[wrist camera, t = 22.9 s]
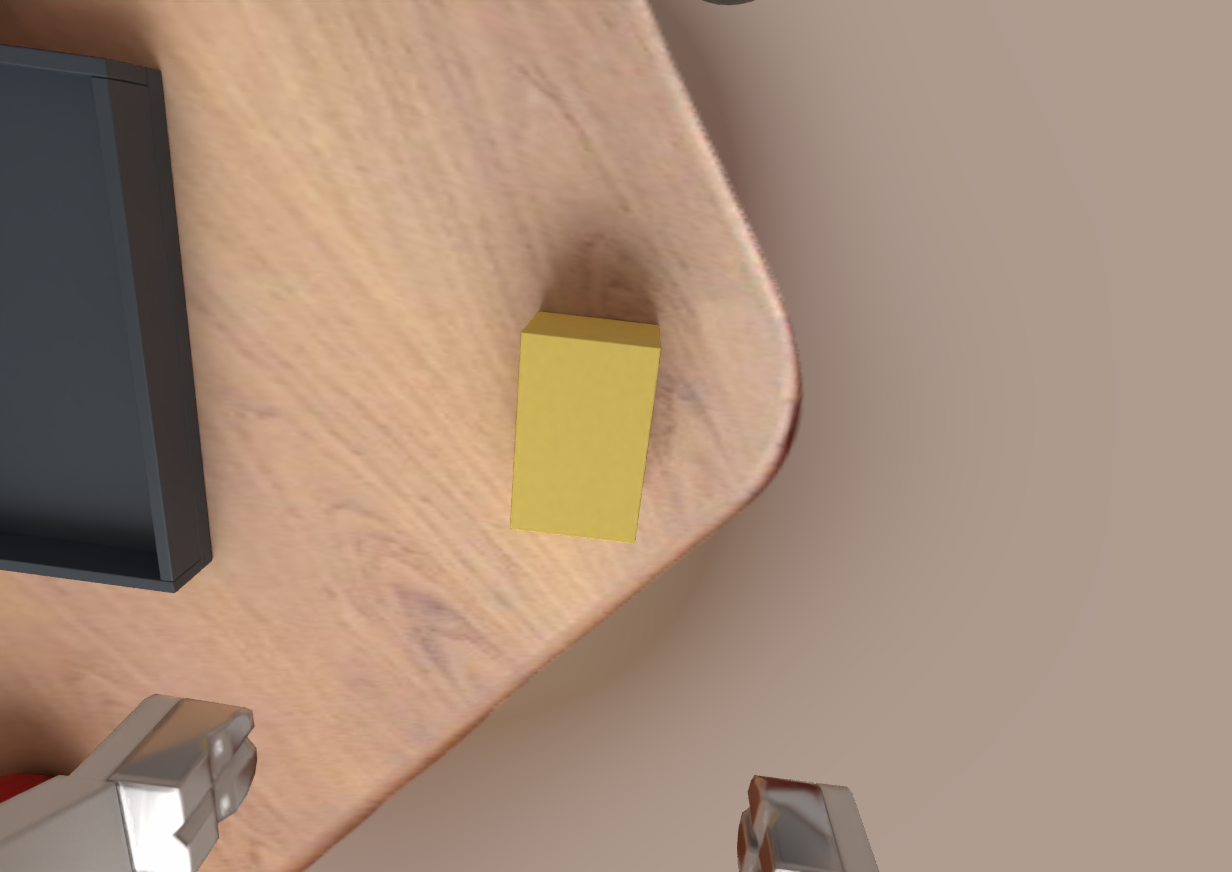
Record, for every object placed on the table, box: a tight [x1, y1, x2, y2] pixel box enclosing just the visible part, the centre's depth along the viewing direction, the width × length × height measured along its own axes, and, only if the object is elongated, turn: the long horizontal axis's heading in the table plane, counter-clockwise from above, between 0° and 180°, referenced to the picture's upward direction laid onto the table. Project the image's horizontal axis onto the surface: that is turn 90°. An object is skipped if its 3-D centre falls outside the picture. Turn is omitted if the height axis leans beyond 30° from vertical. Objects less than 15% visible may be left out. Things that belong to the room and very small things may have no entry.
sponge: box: [510, 311, 661, 543], centre depth 27 cm, size 8×5×4 cm, turn 174°
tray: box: [0, 44, 212, 593], centre depth 27 cm, size 21×12×3 cm, turn 173°
